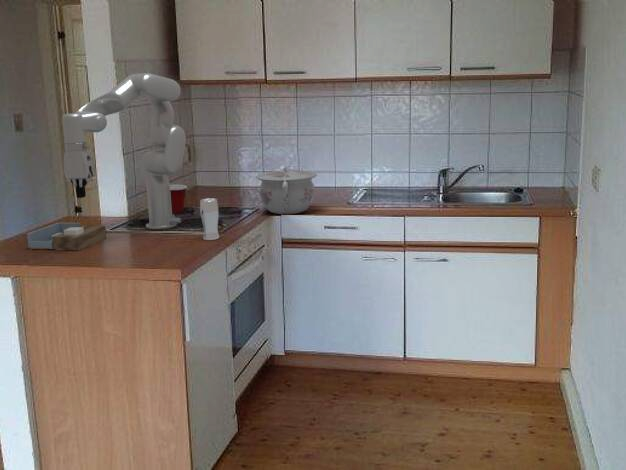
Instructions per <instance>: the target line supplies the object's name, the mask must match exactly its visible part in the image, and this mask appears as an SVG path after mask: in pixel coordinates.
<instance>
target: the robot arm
mask: <svg viewBox="0 0 626 470" xmlns="http://www.w3.org/2000/svg"><path fill="white" fill-rule="evenodd" d="M181 92H182V91H181V87H180V84H179V83H178V82H177V81H176V80H174V79H172V78H168V77H164V76H162V75H161V76H160V75H157V74H154V73H147V72H145V73H133V74H129V75H128V76H127V77H125V78H124V79H122V81H121V82H119V83H118V84H117V85H115V86H114V87H113V88H111V90H109V91H108V92H106V93H104V94H102V95H100V96H98V97H97V98H95V99H93V100H91V101H89V102H87V103H86V104H84V105H83V106H81V107H80V108H79V109H78V110H77V111H75V112H74V113H64V114H63V115H62V117H61V121H62V128H63V129H62V130H63V139H64V149H65V151H64V154H63V173H64V177H65V180H66V182H68V183H71V184H72V185H73V187H74V188H75V195H76V199H83V198H85V197H86V186H87V184H88V183H91V182H93V181H94V177H95V170H94V169H95V167H94V163H93V162H94V161H93V159H92V155H91V152H90V151H89V150H88V149H89V148H90V144H88V143H87V136H86V133H100V132H103V131H104V130H105V129H106V128H107V126H108V120H107V117H106V116H108V115H113V114H117V113H120V112H123V111H124V110H126V109H127V108H128V107H129V106H130V105H131V104H132V103H134V102H135V101H136V100H137V99H139V98H140V97H142V96H144V97H146V99H147V100H148V102H149V103H150V104H149V105H150V106H151V108H152V121H151V126H150V130H149V131H150V132H149V143H150V145H151V146H153V147H155V148H159V149H164V150H150V151H147V152H146V153H145V154H144V155H143V157H142V158H141V159H142V160H141V167H142V170H143V174H144V177H145V185H146V196H147V198H146V199H147V210H148V211H147V212H148V220H149V222H147V223H146V224H145V228H146V229H149V230H165V229H171V228H174V227H177V224H180V223H182V218H181V217H176V216H175V214H173V212H172V206H171V194H170V185H171V183H170V180H169V178H168V176H175V175H176V174H178V173H179V172H180V171H181V169H182V167H183V162H184V161H183V160H184V155H185V149H186V148H185V147H186V142H187V141H186V140H187V137H186V133H185V130H184V129H183V128H182V127H181V126H180V125H177V124H174V119H175V111H174V108H173V106H172V103H171V102H173V101H177V100H178V99H179V97H180V96H181Z"/></svg>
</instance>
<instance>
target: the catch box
mask: <svg viewBox="0 0 626 470" xmlns="http://www.w3.org/2000/svg"><path fill="white" fill-rule="evenodd" d="M80 226H81V223H80V222H56V223H53V224H50V225H48V226H45V227H42V228H39V229H36V230H33V231H31V232H28V233H26V237H27V244H28V248H29V247H31V248H49V249H53V248H54V247H53V241H52V235H54V234H57V233H64V230H65V229H68V228H70V227H80Z"/></svg>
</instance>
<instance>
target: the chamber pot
mask: <svg viewBox="0 0 626 470" xmlns="http://www.w3.org/2000/svg"><path fill="white" fill-rule="evenodd" d="M317 176H318V174H317V173H316V172H312V171H309V170H299V169H298V170H297V169H288V166H285V167H284V168H283V170H281V169H280V170H273V171H267V172H264V173H260V174H258V175H256V176H255V178H256V179H257V180H259V181H260V182H261V184H260V186H259V194H260V198H261V202H262V204H263V205H264V207H265V208H266V209H267V211H268V212H269V213H272V214H275V215H280V216H287V215H288V216H290V215H298V214H301V213H304V212H306V211H307V210H308V209H309V208H310V206H311V204H312V202H313V200H314V195H315V184H314V183H313V181H312V179H313V178H316V177H317Z"/></svg>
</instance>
